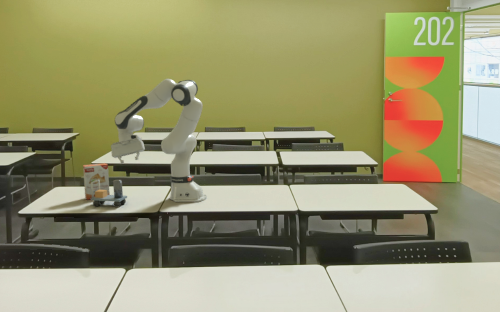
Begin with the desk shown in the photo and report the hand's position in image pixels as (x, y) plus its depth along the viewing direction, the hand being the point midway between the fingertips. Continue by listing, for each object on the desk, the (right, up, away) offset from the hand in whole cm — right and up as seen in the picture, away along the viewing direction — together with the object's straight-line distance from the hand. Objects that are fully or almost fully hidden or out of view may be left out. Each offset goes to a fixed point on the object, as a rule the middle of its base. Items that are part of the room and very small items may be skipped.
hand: (129, 161), depth 286 cm
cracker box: (-22, -23, +8) cm, 33 cm away
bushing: (-4, -21, -11) cm, 24 cm away
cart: (-9, -25, -9) cm, 28 cm away
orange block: (-14, -20, -8) cm, 26 cm away
